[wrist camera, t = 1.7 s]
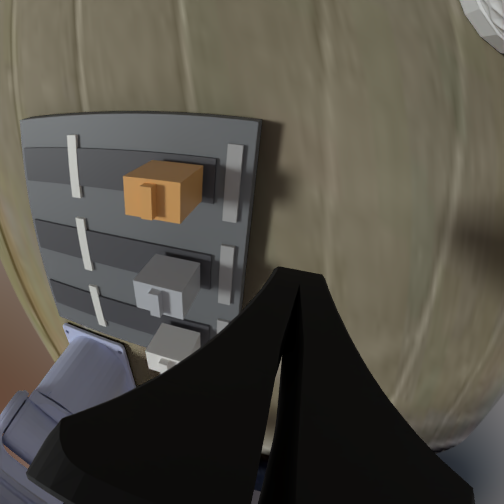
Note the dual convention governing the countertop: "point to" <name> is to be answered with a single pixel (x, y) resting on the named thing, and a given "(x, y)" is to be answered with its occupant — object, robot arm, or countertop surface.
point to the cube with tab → (171, 347)
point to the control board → (134, 228)
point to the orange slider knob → (163, 190)
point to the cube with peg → (167, 286)
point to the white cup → (487, 20)
